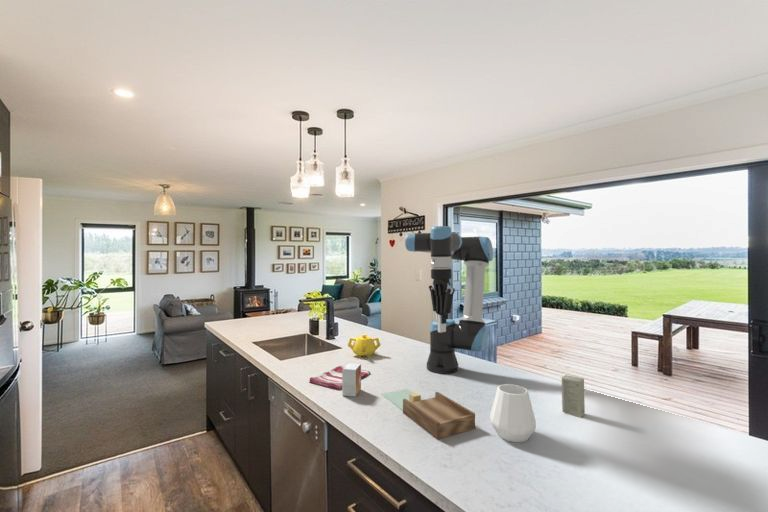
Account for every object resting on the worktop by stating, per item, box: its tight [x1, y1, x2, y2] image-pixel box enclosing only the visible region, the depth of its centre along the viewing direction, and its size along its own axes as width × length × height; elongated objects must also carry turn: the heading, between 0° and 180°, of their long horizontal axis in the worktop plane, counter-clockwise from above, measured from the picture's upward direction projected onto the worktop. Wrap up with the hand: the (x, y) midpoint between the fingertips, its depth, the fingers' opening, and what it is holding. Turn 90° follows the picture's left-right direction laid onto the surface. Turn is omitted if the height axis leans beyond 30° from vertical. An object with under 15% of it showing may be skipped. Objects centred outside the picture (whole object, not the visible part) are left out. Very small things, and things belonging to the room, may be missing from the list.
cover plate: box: [380, 388, 425, 412], centre depth 136 cm, size 12×18×5 cm
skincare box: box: [561, 374, 586, 418], centre depth 125 cm, size 6×4×12 cm
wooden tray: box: [402, 391, 476, 440], centre depth 119 cm, size 15×20×5 cm
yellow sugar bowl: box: [347, 333, 381, 358], centre depth 196 cm, size 20×18×11 cm
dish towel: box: [308, 365, 372, 391], centre depth 160 cm, size 17×23×3 cm
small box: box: [341, 362, 362, 398], centre depth 143 cm, size 8×6×10 cm
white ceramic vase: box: [489, 383, 537, 443], centre depth 110 cm, size 13×13×14 cm
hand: (441, 331), depth 134 cm, fingers closed
